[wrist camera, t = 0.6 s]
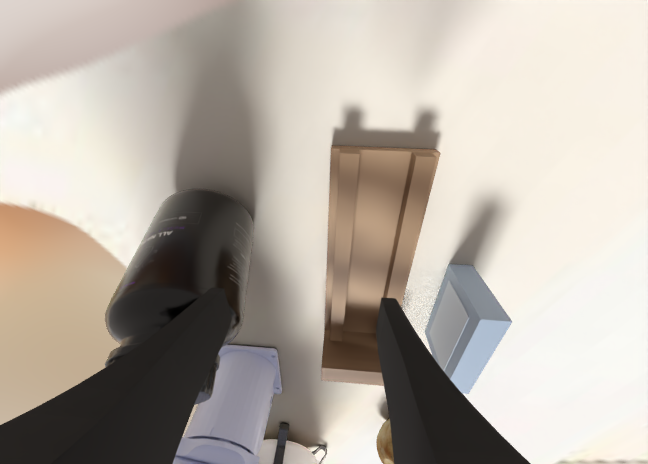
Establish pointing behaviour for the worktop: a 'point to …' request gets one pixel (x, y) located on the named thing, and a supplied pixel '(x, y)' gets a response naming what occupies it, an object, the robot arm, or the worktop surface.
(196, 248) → the supplement bottle
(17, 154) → the worktop surface
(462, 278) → the light blue flat block
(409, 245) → the door track
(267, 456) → the coffee press
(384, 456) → the onion
